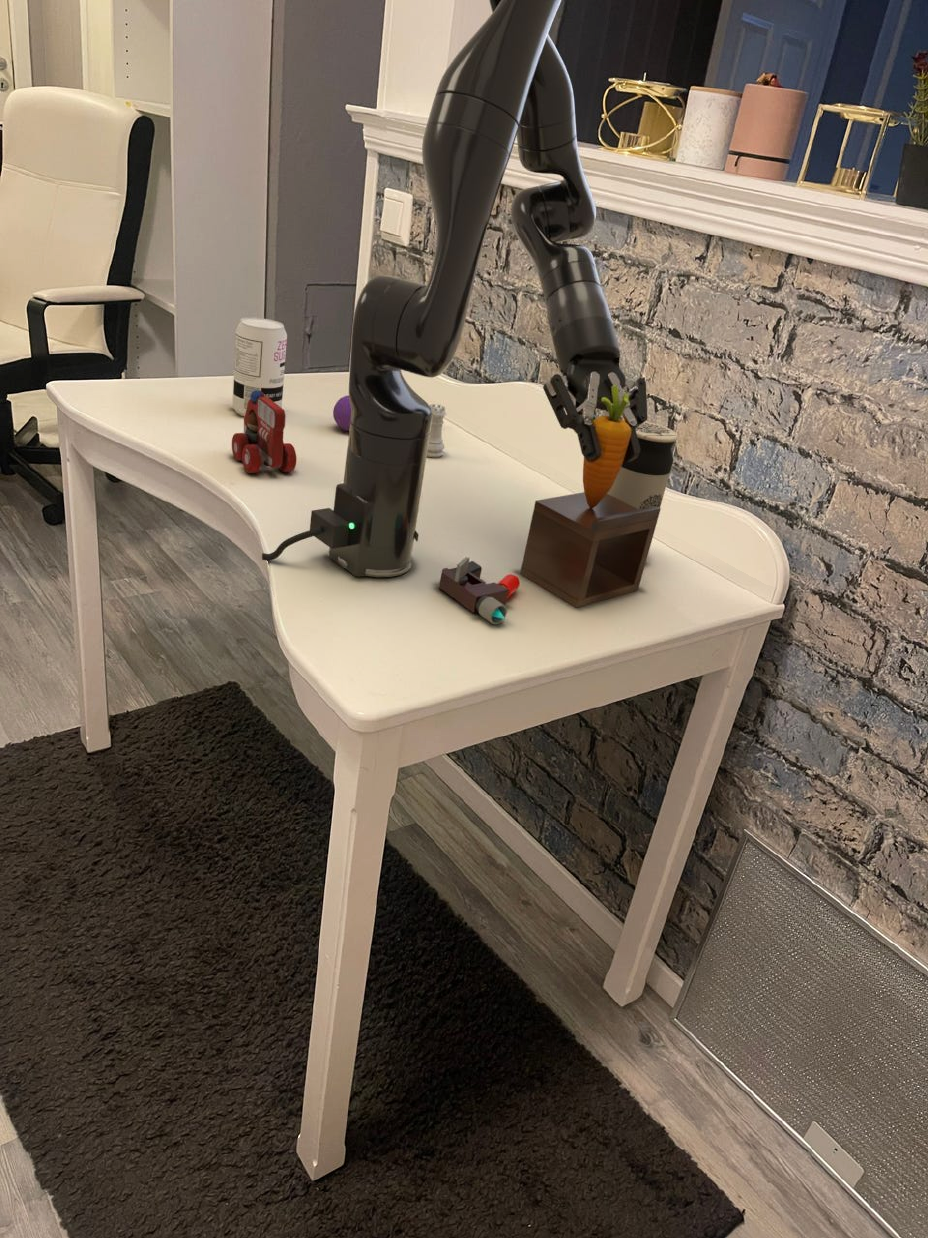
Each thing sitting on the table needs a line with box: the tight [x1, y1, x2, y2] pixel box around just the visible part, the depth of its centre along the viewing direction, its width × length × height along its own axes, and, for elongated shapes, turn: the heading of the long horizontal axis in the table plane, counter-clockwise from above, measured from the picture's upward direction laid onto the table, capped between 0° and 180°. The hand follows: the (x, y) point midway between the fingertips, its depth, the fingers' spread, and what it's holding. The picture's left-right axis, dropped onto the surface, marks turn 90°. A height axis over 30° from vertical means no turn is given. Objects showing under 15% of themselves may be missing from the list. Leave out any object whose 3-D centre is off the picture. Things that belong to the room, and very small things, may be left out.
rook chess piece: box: [426, 403, 447, 459], centre depth 154 cm, size 4×4×8 cm
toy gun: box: [438, 557, 521, 625], centre depth 111 cm, size 10×12×5 cm
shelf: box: [519, 491, 661, 609], centre depth 118 cm, size 12×10×11 cm
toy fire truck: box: [231, 390, 297, 474], centre depth 136 cm, size 7×12×10 cm, turn 30°
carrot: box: [582, 385, 631, 508], centre depth 113 cm, size 5×5×15 cm
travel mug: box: [607, 421, 679, 510], centre depth 127 cm, size 8×8×18 cm
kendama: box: [332, 394, 351, 432], centre depth 163 cm, size 6×6×20 cm
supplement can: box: [231, 317, 288, 417], centre depth 156 cm, size 8×8×15 cm
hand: (613, 458), depth 111 cm, fingers closed on carrot, 5 cm apart
